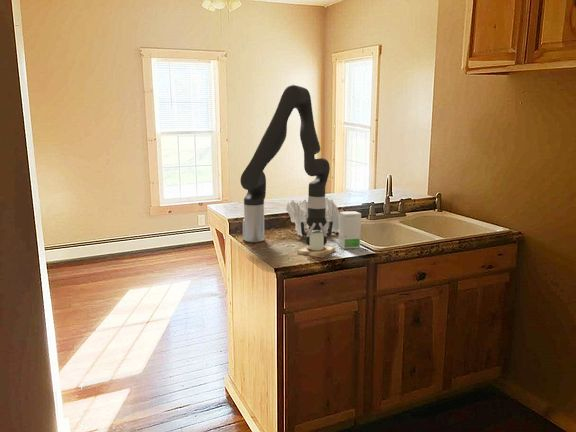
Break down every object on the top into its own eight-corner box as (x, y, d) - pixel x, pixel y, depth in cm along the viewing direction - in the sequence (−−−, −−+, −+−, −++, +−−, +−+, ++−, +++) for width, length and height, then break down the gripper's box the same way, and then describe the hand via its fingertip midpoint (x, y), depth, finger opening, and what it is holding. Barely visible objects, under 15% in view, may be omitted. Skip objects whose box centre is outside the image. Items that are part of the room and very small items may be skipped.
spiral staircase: (340, 241, 249) (294, 244, 238) (326, 220, 261) (282, 222, 251) (351, 211, 238) (303, 213, 228) (335, 190, 251) (290, 191, 241)
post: (297, 253, 214) (297, 239, 213) (309, 246, 224) (310, 233, 223) (322, 257, 208) (323, 243, 207) (334, 250, 218) (335, 236, 217)
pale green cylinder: (315, 245, 220) (315, 228, 218) (326, 248, 216) (326, 230, 214) (306, 248, 216) (306, 231, 214) (316, 251, 212) (317, 233, 210)
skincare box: (343, 249, 220) (344, 214, 217) (337, 245, 227) (338, 211, 223) (360, 247, 223) (361, 213, 219) (354, 244, 229) (355, 210, 226)
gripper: (331, 204, 216) (331, 242, 220) (298, 204, 215) (298, 243, 218) (335, 207, 209) (334, 246, 213) (300, 208, 208) (300, 247, 211)
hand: (316, 244), depth 215 cm, fingers closed on pale green cylinder, 6 cm apart
